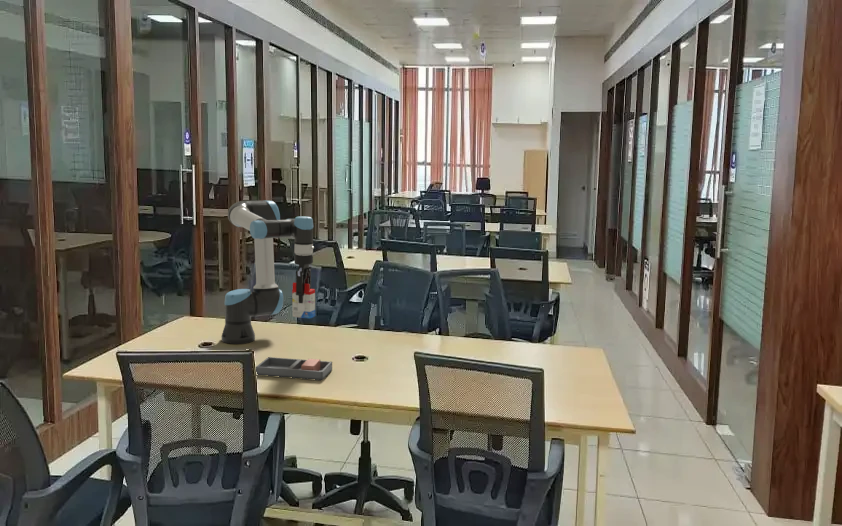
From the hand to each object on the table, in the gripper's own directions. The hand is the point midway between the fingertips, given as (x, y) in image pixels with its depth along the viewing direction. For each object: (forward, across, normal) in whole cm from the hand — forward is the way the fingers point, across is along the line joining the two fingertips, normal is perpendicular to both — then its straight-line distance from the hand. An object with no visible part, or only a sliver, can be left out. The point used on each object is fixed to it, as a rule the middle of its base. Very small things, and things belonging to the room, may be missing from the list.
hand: (303, 308), depth 286 cm
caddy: (+23, -15, -1) cm, 27 cm away
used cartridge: (+23, -15, -8) cm, 29 cm away
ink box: (+4, 0, 0) cm, 4 cm away
